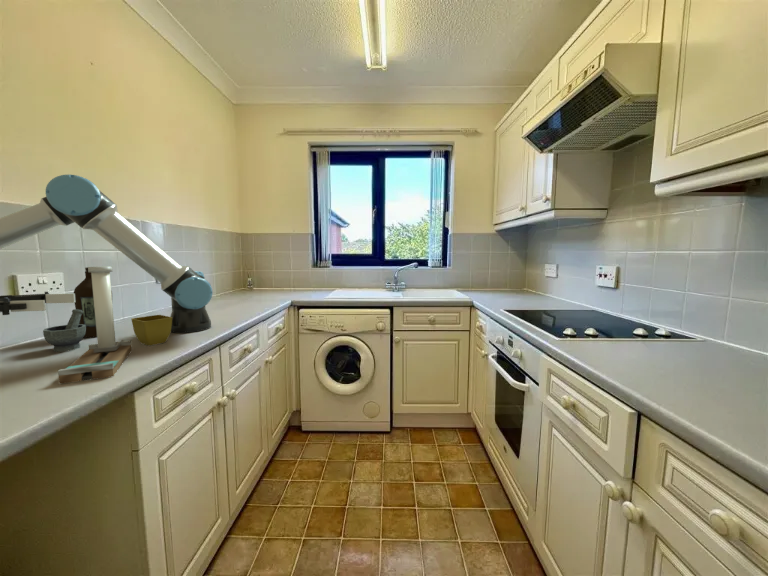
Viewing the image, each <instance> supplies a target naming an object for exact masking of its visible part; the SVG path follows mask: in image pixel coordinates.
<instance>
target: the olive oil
mask: <svg viewBox="0 0 768 576" xmlns="http://www.w3.org/2000/svg"><path fill="white" fill-rule="evenodd" d="M88 267H89V266H87V267H84V269H85V271H84V274H85V278H84V279H83V280H82V281H81V282H80V283H79V284H78V285H77V286H75V288H74V290H73V293H75V301H76V302H75V303H74V306H75V307H74V309H79V310H82V311H83V314H82V315H81V318H80V322H79V324H83V325H86V333H85V336H84V338H86V339H87V338H89V339H90V337H91V338H97V331H96V319H95V308H94V297H93V286H92V275H91V272H88ZM111 293H112V294H113V291H112V290H111ZM84 338H83V339H84Z"/></svg>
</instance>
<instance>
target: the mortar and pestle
mask: <svg viewBox="0 0 768 576" xmlns="http://www.w3.org/2000/svg"><path fill="white" fill-rule="evenodd" d="M71 312H72V314H71V315H70V317H69V320H68V322H67V323H66V324H62V325H56V326H55V325H54V326H50V327H47V328H44V329H43V330H42V334H43V338H44V340H45V341H46V342H47V343H48V344H49V345H51V346H53V352H57V351H60V352H68V350H69V351H74V350H77V349H80V348H81V343H80V342H81V341H82V340H83V339H84V338H83V337H84V336H85V333H86V325H83V324H79V322H80V318H81V315H82V314H83V311H82V310H79V309H76V308H74V309H72V311H71ZM73 349H74V350H73Z"/></svg>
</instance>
